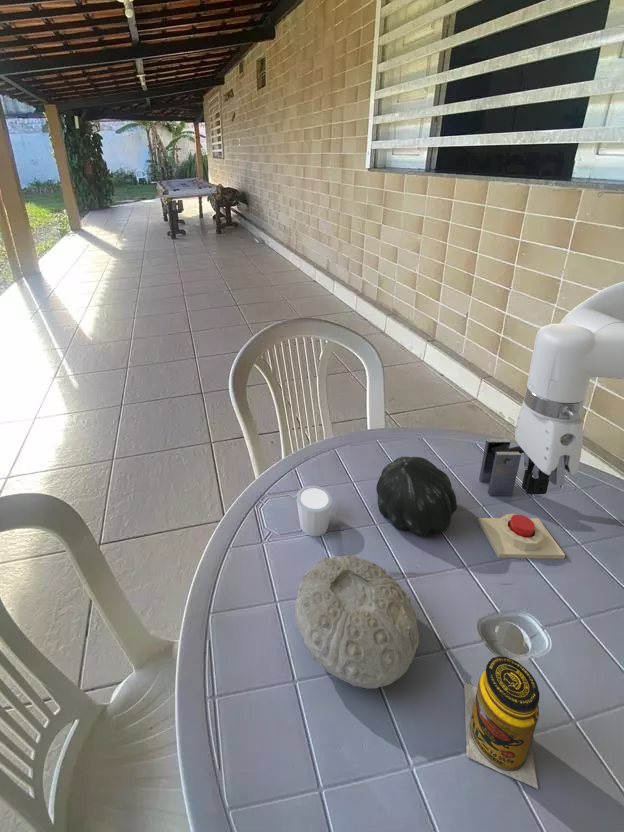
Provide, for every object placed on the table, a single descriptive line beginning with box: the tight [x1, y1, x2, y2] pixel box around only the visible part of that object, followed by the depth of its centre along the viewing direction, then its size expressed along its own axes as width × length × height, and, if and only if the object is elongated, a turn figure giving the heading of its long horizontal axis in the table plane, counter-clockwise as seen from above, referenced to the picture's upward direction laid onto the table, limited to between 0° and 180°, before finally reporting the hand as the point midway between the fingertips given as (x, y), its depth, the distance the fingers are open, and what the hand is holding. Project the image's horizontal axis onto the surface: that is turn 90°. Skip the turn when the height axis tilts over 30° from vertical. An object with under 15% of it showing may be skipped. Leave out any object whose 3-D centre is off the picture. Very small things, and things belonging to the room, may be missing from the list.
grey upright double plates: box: [478, 438, 522, 497], centre depth 88 cm, size 12×9×12 cm
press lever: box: [491, 445, 524, 458], centre depth 85 cm, size 13×5×2 cm, turn 86°
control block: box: [477, 513, 566, 560], centre depth 77 cm, size 11×8×4 cm
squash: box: [375, 456, 458, 538], centre depth 83 cm, size 14×15×15 cm
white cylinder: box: [296, 485, 333, 537], centre depth 84 cm, size 7×7×7 cm
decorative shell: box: [294, 554, 420, 690], centre depth 63 cm, size 18×18×10 cm
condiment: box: [463, 655, 540, 790], centre depth 51 cm, size 7×8×12 cm
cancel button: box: [510, 513, 535, 538], centre depth 76 cm, size 4×4×2 cm
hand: (533, 490), depth 74 cm, fingers closed
